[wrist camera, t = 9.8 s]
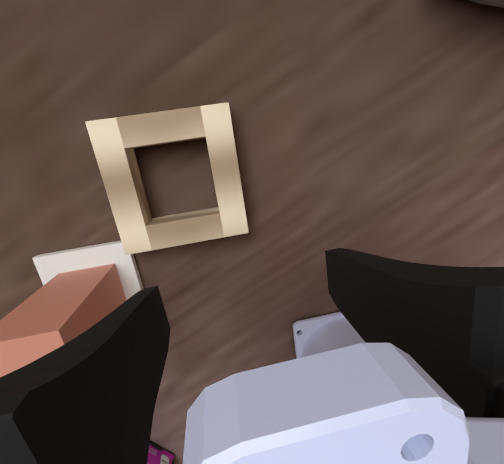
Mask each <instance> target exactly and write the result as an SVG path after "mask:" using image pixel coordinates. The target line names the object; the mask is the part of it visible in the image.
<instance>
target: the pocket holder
mask: <svg viewBox="0 0 504 464" xmlns="http://www.w3.org/2000/svg"><path fill="white" fill-rule="evenodd" d="M85 123H86V126H87V129H88V133H89V136H90V139H91V143H92V146H93V149H94V153H95V156H96V159H97V162H98V166H99V169H100V172H101V176H102V179H103V182H104V185H105V189H106V192H107V195H108V199H109V202H110V205H111V209H112V212H113V215H114V218H115V222H116V225H117V228H118V232H119V235H120V238H121V241H122V245H123V248H124V251H125V255H129V254H135V253H140V252H146V251H151V250H157V249H162V248H168V247H173V246H179V245H184V244H190V243H195V242H201V241H206V240H212V239H217V238H223V237H228V236H234V235H239V234H245V233H249V231H248V225H247V218H246V212H245V206H244V199H243V193H242V186H241V180H240V173H239V167H238V160H237V154H236V147H235V141H234V134H233V128H232V121H231V115H230V108H229V102H228V103H220V104H213V105H206V106H198V107H191V108H183V109H176V110H169V111H161V112H154V113H146V114H139V115H132V116H124V117H117V118H109V119H102V120H94V121H87V122H85ZM202 138H206V141H207V146H208V152H209V157H210V163H211V168H212V173H213V179H214V184H215V190H216V195H217V201H218V206H219V207H215V208H210V209H204V210H198V211H192V212H186V213H180V214H174V215H169V216H163V217H157V218H152V217H151V213H150V209H149V205H148V201H147V198H146V194H145V190H144V186H143V182H142V178H141V175H140V171H139V167H138V163H137V159H136V156H135V152H134V148H140V147H147V146H154V145H161V144H168V143H174V142H181V141H188V140H195V139H202Z"/></svg>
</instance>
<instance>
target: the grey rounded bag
mask: <svg viewBox="0 0 504 464" xmlns="http://www.w3.org/2000/svg"><path fill="white" fill-rule="evenodd" d="M470 1H472V2H475V3H478V4H484V5H490V6H496V7H502V8H504V0H470Z"/></svg>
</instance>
